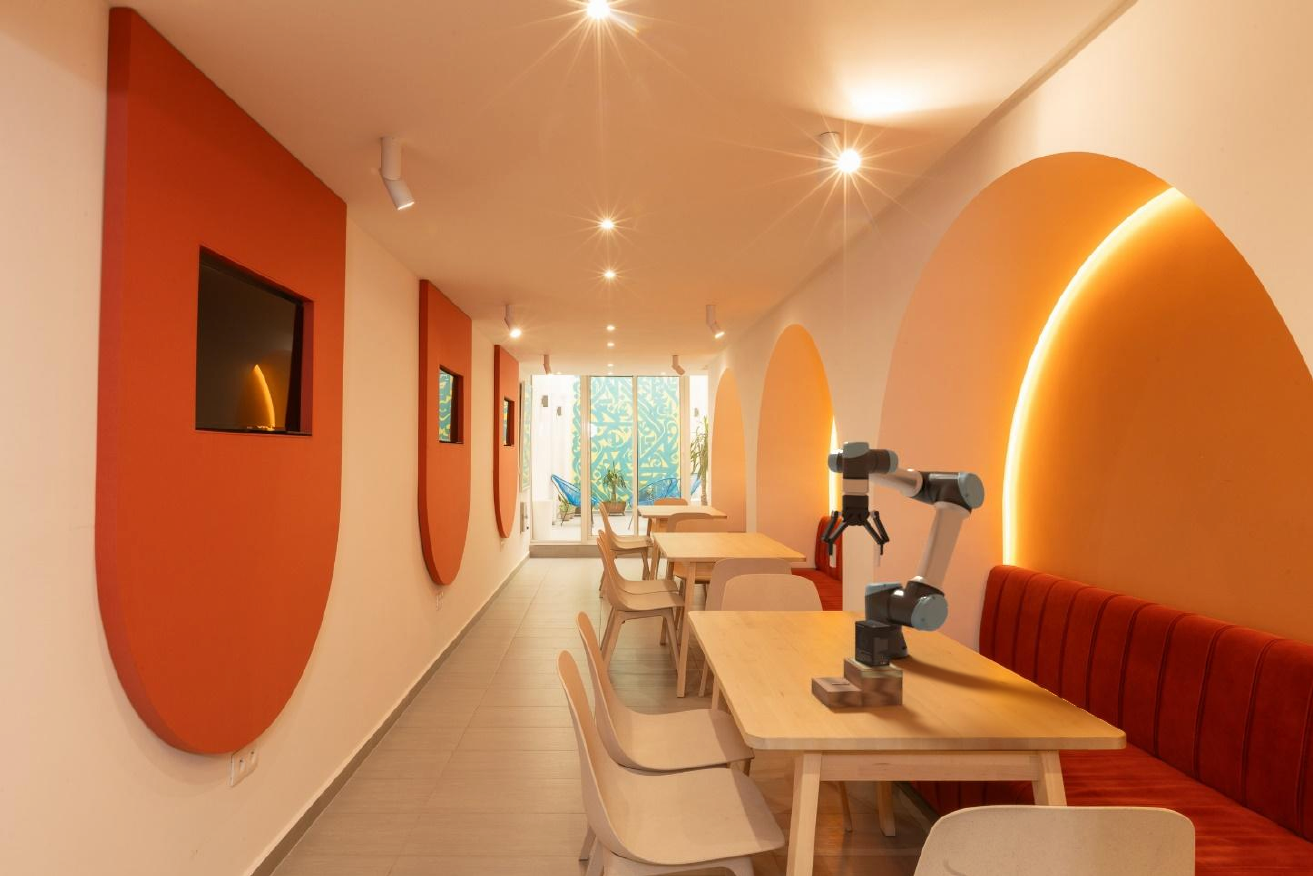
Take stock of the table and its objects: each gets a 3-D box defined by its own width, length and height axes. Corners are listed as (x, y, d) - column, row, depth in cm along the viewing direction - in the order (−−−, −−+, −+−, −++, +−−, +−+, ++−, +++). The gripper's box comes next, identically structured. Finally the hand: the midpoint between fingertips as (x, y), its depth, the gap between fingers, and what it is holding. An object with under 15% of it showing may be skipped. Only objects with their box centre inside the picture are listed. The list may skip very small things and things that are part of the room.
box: (890, 666, 191) (890, 625, 192) (872, 668, 189) (872, 626, 190) (871, 658, 199) (871, 619, 199) (854, 660, 197) (854, 620, 197)
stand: (882, 690, 200) (882, 656, 201) (902, 705, 188) (903, 669, 188) (811, 692, 198) (811, 658, 198) (828, 708, 185) (828, 671, 186)
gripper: (889, 493, 221) (889, 564, 220) (810, 493, 218) (809, 565, 217) (901, 495, 213) (901, 568, 213) (819, 494, 210) (818, 568, 209)
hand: (855, 566), depth 215 cm, fingers open, 13 cm apart
